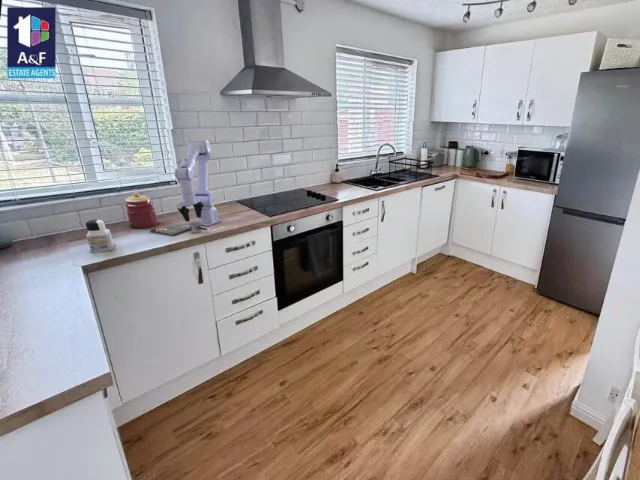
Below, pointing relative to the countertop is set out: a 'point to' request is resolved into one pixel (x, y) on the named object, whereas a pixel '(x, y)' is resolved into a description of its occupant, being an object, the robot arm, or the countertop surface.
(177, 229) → the dark grey flat slab
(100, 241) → the container
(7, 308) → the countertop surface
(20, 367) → the countertop surface
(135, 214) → the kitchen canister
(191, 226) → the wok
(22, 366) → the countertop surface
